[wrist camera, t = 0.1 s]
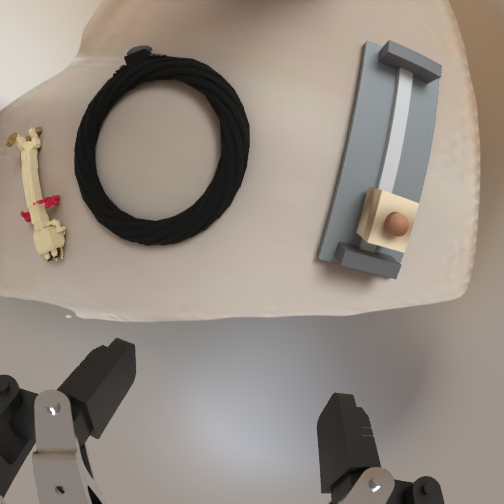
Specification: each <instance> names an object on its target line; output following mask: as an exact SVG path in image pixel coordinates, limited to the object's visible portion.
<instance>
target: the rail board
mask: <svg viewBox="0 0 504 504" xmlns="http://www.w3.org/2000/svg"><path fill="white" fill-rule="evenodd" d="M441 68H442V65H440V64H438V63H436V62H435V61H433V60H431V59H429V58H427V57H425V56H423V55H421V54H419V53H417V52H415V51H413V50H411V49H409V48H406V47H404V46H402V45H400V44H397V43H395V42H393V41H390V40H389V41H388V42H387V43H386V44H385V45H384V46H381V45H378V44H375V43H373V42H370V41H366V42H365V44H364V49H363V56H362V62H361V69H360V75H359V81H358V86H357V92H356V98H355V103H354V108H353V113H352V118H351V123H350V128H349V133H348V138H347V142H346V147H345V151H344V156H343V160H342V164H341V168H340V173H339V177H338V181H337V185H336V189H335V193H334V197H333V201H332V204H331V208H330V212H329V216H328V219H327V223H326V227H325V230H324V234H323V237H322V241H321V244H320V248H319V251H318V254H317V257H318V259H320V260H324V261H328V262H332V263H336V264H340V266H344V267H348V268H352V269H356V270H360V271H364V272H368V273H372V274H376V275H380V276H385V277H389V278H393V279H396V278H397V275H398V273H399V270H400V267H401V264H400V263H401V260H402V257H403V254H404V253H403V252H400V251H396V250H393V249H389V248H386V247H382V246H379V245H375V244H372V243H368V242H367V241H365V240H364V239H363V238H362V237H361V236H360V235H359V234H358V233H356V231H357V227H358V224H359V220H360V217H361V213H362V210H363V206H364V202H365V199H366V195H367V191H368V187H371V188H376V189H380V190H383V191H386V192H389V193H392V194H395V195H398V196H400V197H403V198H406V199H409V200H411V201H414V202H417V203H419V201H420V197H421V193H422V189H423V185H424V180H425V176H426V171H427V167H428V162H429V157H430V151H431V146H432V140H433V134H434V127H435V120H436V112H437V103H438V92H439V78H440V77H441Z"/></svg>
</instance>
